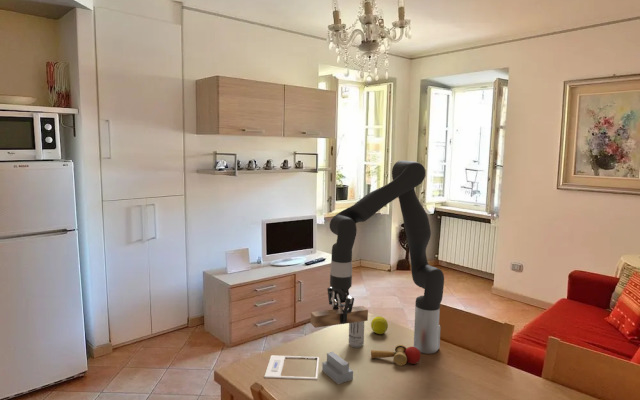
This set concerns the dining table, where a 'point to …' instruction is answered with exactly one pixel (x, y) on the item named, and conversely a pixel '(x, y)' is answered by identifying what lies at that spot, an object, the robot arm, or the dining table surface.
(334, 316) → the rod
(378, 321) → the tennis ball
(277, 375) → the photo frame
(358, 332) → the energy drink can
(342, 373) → the fulcrum
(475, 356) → the dining table surface
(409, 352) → the kendama
